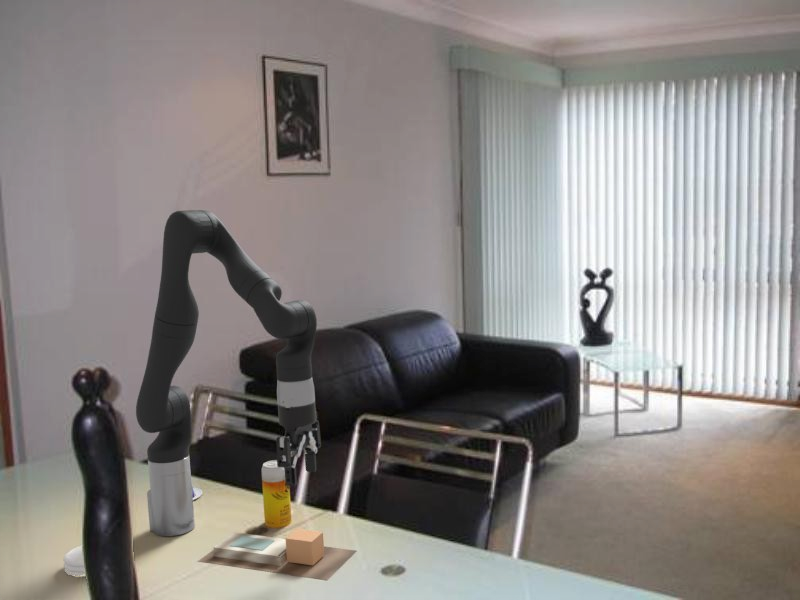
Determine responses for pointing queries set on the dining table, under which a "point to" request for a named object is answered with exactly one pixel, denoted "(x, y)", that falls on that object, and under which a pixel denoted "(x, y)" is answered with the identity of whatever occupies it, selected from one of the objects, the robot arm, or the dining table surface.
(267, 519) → the beer can
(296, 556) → the light orange cube
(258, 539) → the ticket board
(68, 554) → the white frilly dome
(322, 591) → the dining table surface
